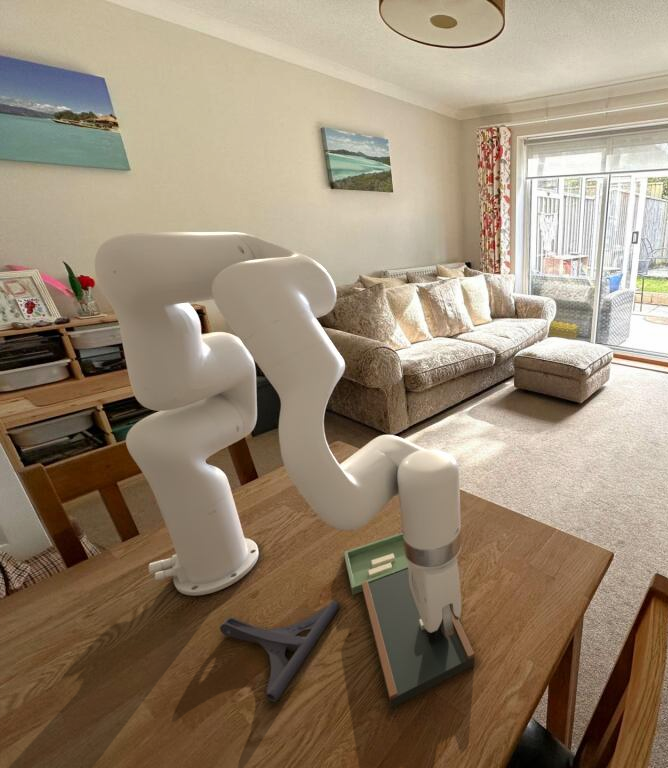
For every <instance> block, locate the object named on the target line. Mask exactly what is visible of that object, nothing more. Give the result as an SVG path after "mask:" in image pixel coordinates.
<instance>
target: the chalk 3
mask: <svg viewBox="0 0 668 768" xmlns="http://www.w3.org/2000/svg"><path fill="white" fill-rule="evenodd" d="M419 625H420V627H421V630H424V629H425V627H424V624H423V622H422V619H420V620H419Z"/></svg>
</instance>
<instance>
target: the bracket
mask: <svg viewBox="0 0 668 768" xmlns="http://www.w3.org/2000/svg"><path fill="white" fill-rule="evenodd" d="M340 606H341V604H340V603H339V602H338V601H337V600H331V601H330V602H329V604H328V605H326V606H324V607H323V608H321V609H320V610H318V611H317V612H315V613H314V614H313V615H311V616H309V617H307V618H306V619H303V620H301V621H298V622H296V623H294V624H290V625H288V626H287V625H286V626H283V627H277V628H266V629H265V628H261V627H258V626H255V625H252V624H250V623H247V622H244V621H242V620H239V619H237V618H236V617H233V616H230V617H228V618H227V619H225V621H224V622H223V623H222V624H221V625H220V627H219V630H220V632H221V633H222V634H223V635H224V636H226V637H229V638H233V639H237V640H242V641H245V642H250V643H255V644H258V645H259V646H261V647H262V648H263V649H264V650H265V652H266V653H267V655H268V657H269V662H270V675H269V679H268V683H267V688H266V691H265V693H266V694H265V698H266V699H267V700H268V702H272V703H275V702H277V701H278V700H279V698H280V696H281V695H282V694H283V692H284V690H286V688H287V686H288V685H289V683H290V681H292V678H293V677H294V676H295V674H296V673H297V671H298V670H299V668H300V667H301V665H302V664H303V663H304V661H305V660H306V658H307V656H308V655H309V653H310V651H312V649H313V647H314V646H315V644H316V643H317V641H318V640H319V638H320V637H321V635H322V634H323V632H324V631H325V630H326V628H327V626H328V624H329V623H330V622H331V620H332V619H333V618H334V616H335V614H336V613H337V611H338V610H339V609H340ZM308 631H309V632H308ZM305 632H308V634H307V635H306V636H299V635H300V634H302V633H305ZM286 651H290V652H294V654H292V657H290V659H288V658H287V657H286Z"/></svg>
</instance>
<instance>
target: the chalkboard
mask: <svg viewBox="0 0 668 768" xmlns="http://www.w3.org/2000/svg"><path fill="white" fill-rule="evenodd" d="M362 590H363V591H362V596H363V600H364V604H365V608H366V612H367V617H368V620H369V624H370V628H371V632H372V636H373V640H374V644H375V648H376V652H377V657H378V660H379V664H380V669H381V673H382V677H383V680H384V681H383V682H384V684H385V685H384V686H385V689H386V693H387V697H388V702H389V705H390V708H391V709H393V708H395V707H397V706H399V705H401V704H403V703H405V702H406V701H408V700H410V699H412V698H414V697H416V696H418V695H420V694H421V693H422V694H423V692H426V691H428V690H430V689H431V688H434V687H435V686H437V685H439V684H441V683H443V682H444V681H447V680H448V679H451V678H452V677H454V676H456V675H458V674H460V673H462V672H464V671H466V670H468V669H470V668H471V667H474V666H475V652H474V650H473V648H472V646H471V643H470V641H469V639H468V637H467V635H466V633H465V631H464V628H463V626H462V624H461V622H460V619H459V620H457V619H456V620H455V617H454V615H453V613H452V612H451V615H452V623H453V631H454V634H453V635H451V636H448V637H446V638H444V639H443V640H441V641H436V642H434V643H432V644H430V643H429V640H428V637H427V635H426V629H424V630H421V627H420V625H419V620H420V619H421V617H420V614H419V611H418V609H417V606H416V603H415V600H414V598H413V595H412V592H411V589H410V585H409V577H408V569H406V570H404V571H401V572H398V573H396V574H393V575H390V576H388V577H385V578H382V579H380V580H377V581H374V582H372V583H369V584H368V581H367V582H364V583H362Z"/></svg>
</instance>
